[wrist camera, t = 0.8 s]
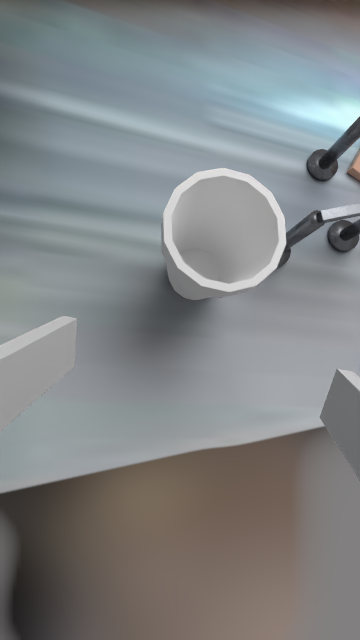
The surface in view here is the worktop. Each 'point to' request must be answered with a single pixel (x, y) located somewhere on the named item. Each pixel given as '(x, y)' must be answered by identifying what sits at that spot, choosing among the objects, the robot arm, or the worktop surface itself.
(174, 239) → the foam cup
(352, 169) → the coaster
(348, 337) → the worktop surface
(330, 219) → the bent rail
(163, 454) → the worktop surface
